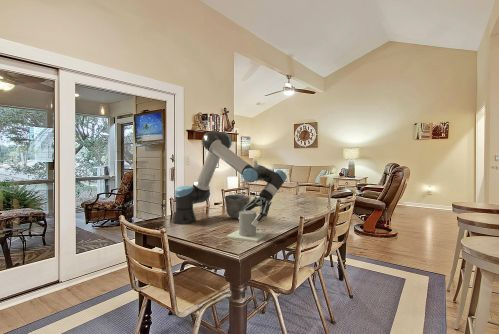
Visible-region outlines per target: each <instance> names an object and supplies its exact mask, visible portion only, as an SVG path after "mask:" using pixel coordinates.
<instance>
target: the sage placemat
mask: <svg viewBox="0 0 499 334" xmlns="http://www.w3.org/2000/svg"><path fill="white" fill-rule="evenodd" d="M268 235H269V232H267V231H260V230H259V231H258V230H256V235H255V236H251V237H244V236H240V235H239V229H236V230H235V231H233V232H231V233H229V234H227V235H226V236H225V238H226V239H230V240H231V239H232V240H237V241H245V242H252V243H258V242H259V241H261V240H262V239H264V238H265V237H266V236H268Z"/></svg>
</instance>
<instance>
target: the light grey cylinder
mask: <svg viewBox="0 0 499 334" xmlns="http://www.w3.org/2000/svg"><path fill="white" fill-rule="evenodd" d="M256 217H257V211H255V210H253V209H252V210H244V211H240V212H239V219H238V230H239V235H240V236H244V237H251V236H255V235H256V231H257V226H256V227H254V226H253V225H252V224H251V223H252V222H253V221H254V219H255V218H256Z"/></svg>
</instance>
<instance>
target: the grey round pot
mask: <svg viewBox="0 0 499 334" xmlns="http://www.w3.org/2000/svg"><path fill="white" fill-rule="evenodd" d="M249 198H250V197H249V195H248V196H247V195H243V194H229V195H225V196H224V201H225V208H226V209H225V210H226V213H227V215H228V216H229V217H230V218H232V219H238V218H239V212H240V211H244V208H243V207H244V206H245V205H247V204H248V203H249ZM238 220H239V219H238Z"/></svg>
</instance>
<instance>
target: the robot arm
mask: <svg viewBox="0 0 499 334" xmlns="http://www.w3.org/2000/svg"><path fill="white" fill-rule="evenodd" d="M201 143H202V146H203V147H204V149H206V150H207V155H206V158H205V160H204V163H203V165H202V168H201V170H200V173H199V175H198V178H197V180H195V181H194V182H193V185H183V186H182V185H181V186H179V187H177V188H175V190H174V201H175V202H174V204H175V209H174V210H175V211H174V213H173V217H172V223H173V224H177V225H188V224H192V223H195V222H197V217H196V215H195V211H194V205H196V204H201V203H204V202H207V201H208V200H209V198H210V196H211V190H210V189H211V187H210V182H211V181H212V178H213V176H214V173H215V171H216V168H217V167H218V163H219V162H220V160H222V161H223V162H225V163H226V164H227V165H229V166H230V167H231V168H233V169H234V170H235V171H237V172H238V173H239V174H241V175H242V179H243V180H244V182H247V183H254V182H258V181H264V182H266V184H265V185H264V187H263V189H262V190H261V191H260V192H259V193H258V194H259V197H257V196H254V197H253V199H251V200H250V201H248V204H247V205H245V206H244V207H243V208H244V210H252V211H253V209H254V208H258V207H260V209H259V213H258V214H256V218H255V219H254V221H253V222H252V223H251V224H252V225H253V226H254V227H256V228H257V225H258V224H259V222H261V220H262V219H263V218H264V217H266V218H267V217H268V214H269V210H270V207H271V205H272V200H273V197H275V195H276V194H277V193H278V191H279V189H281V187H282V186H283V185H284V184H285V182H286V180H287V178H288V176H287V173H286V172H285V171H283V170H281V169H277V170H275V171H274V170H271V169H269V168H267V167H266V166H263V165H261V164H257V165H256V166H255V167H254V166H253V165H252V164H250V163H249V162H247V161H246V160H245V159H243V158H242V157H241V156H239V155H238V154H236V153H235V152H234V151H232V150H231V147H232V143H233V142H232V137H231V136H230V134H228V133H227V132H223V131H213V130H212V131H207V132H206V133H205V134H204V135H202V140H201ZM238 220H239V218H238Z"/></svg>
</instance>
